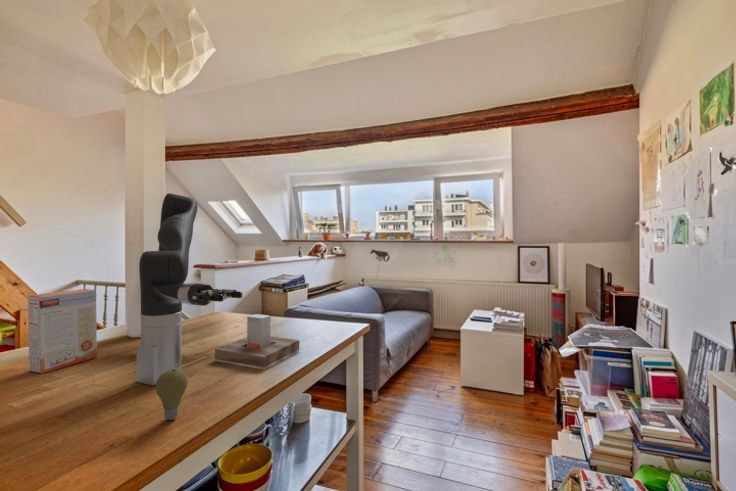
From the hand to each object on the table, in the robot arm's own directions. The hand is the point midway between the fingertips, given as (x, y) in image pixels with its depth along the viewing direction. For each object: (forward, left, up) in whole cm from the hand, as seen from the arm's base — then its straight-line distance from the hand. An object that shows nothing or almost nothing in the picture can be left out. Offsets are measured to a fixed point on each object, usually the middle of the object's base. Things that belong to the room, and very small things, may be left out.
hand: (232, 296), depth 114 cm
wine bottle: (0, +44, -18) cm, 47 cm away
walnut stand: (-2, -12, -18) cm, 22 cm away
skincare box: (-2, -12, -17) cm, 21 cm away
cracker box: (-30, +34, -18) cm, 48 cm away
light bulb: (-40, -21, -18) cm, 49 cm away
